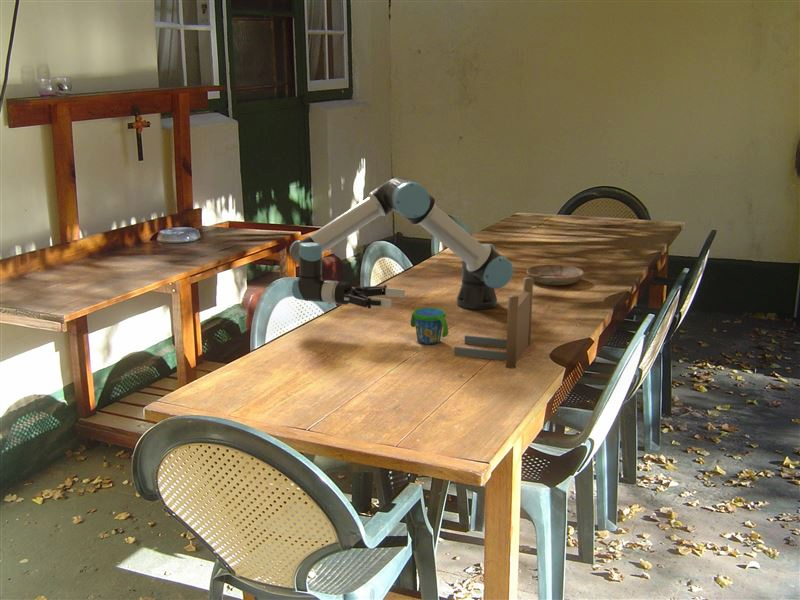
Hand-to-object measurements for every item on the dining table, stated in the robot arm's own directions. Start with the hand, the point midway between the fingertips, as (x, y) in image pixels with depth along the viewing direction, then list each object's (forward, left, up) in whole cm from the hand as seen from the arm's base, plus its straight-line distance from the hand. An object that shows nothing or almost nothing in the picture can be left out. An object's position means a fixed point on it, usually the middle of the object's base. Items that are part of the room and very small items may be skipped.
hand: (398, 298), depth 305 cm
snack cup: (0, +11, -14) cm, 18 cm away
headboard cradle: (+4, +32, -14) cm, 35 cm away
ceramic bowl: (-95, +37, -14) cm, 103 cm away
